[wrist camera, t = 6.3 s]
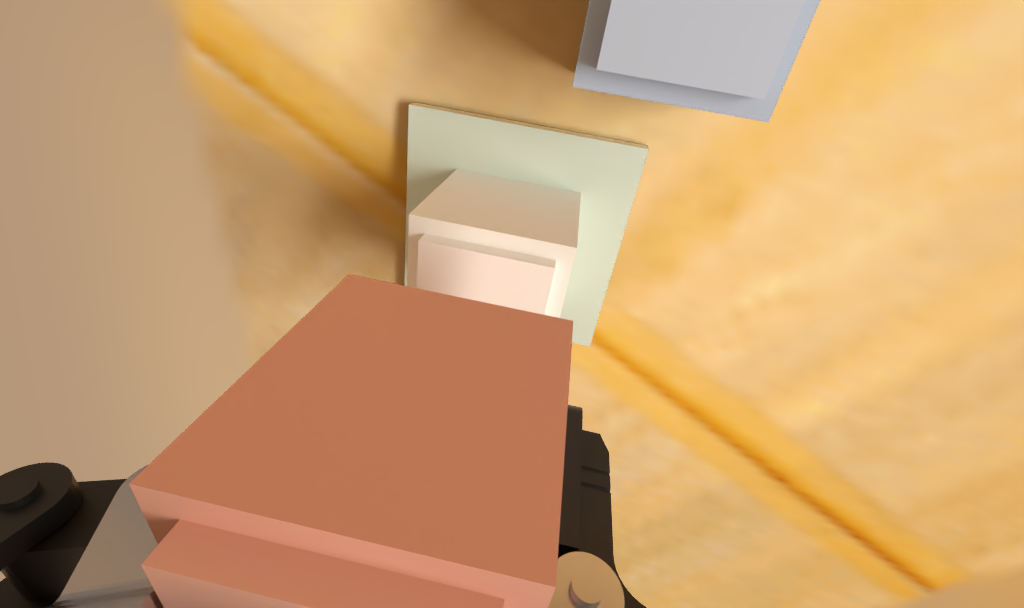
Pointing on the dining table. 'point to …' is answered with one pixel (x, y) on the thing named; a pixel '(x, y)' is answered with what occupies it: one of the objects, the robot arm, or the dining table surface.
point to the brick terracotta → (373, 463)
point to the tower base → (536, 164)
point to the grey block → (694, 51)
